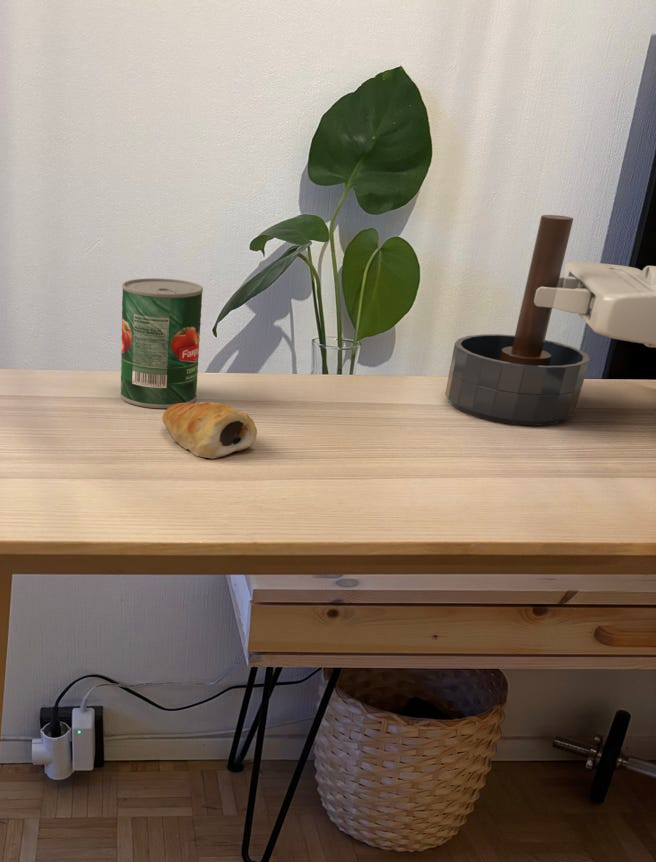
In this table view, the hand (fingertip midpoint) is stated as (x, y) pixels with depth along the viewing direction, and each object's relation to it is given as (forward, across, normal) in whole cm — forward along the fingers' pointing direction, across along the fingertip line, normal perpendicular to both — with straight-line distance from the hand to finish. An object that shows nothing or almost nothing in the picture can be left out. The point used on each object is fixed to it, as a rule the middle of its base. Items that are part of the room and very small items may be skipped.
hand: (531, 291), depth 96 cm
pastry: (+30, +22, +12) cm, 39 cm away
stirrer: (-1, 0, +9) cm, 9 cm away
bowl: (0, +2, +12) cm, 12 cm away
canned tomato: (+36, +10, +12) cm, 39 cm away
